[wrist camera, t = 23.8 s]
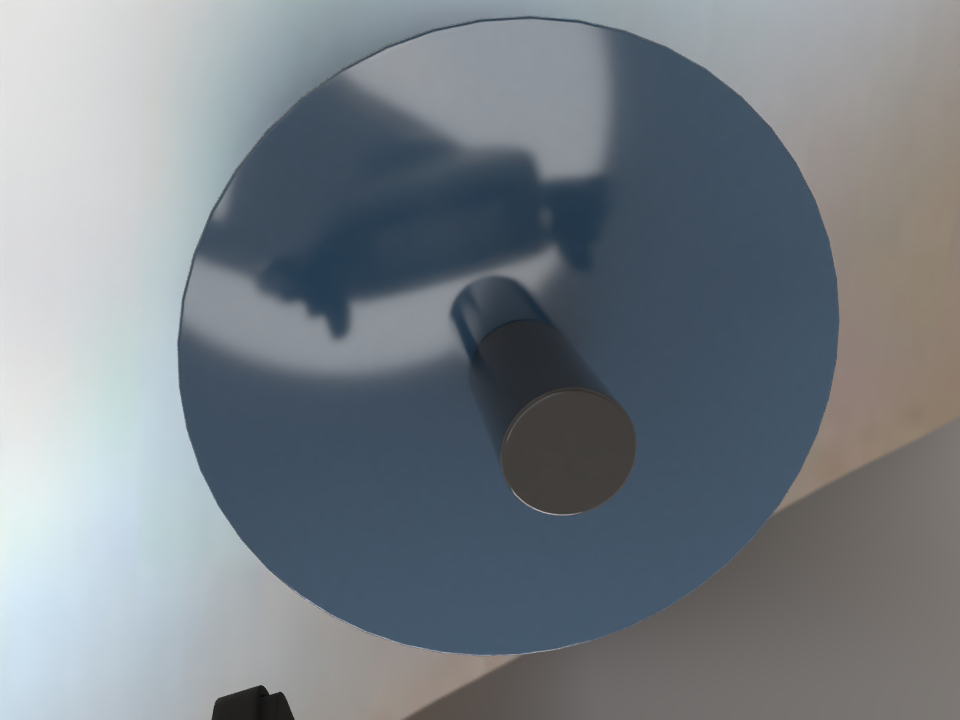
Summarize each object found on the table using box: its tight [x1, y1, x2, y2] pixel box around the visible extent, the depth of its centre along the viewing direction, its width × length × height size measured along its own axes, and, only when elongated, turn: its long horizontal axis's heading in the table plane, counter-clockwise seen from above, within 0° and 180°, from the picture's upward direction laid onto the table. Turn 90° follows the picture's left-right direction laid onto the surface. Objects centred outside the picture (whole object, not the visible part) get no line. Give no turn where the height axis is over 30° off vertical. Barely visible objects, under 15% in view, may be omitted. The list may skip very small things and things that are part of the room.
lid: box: [177, 16, 839, 656], centre depth 21 cm, size 17×17×6 cm
